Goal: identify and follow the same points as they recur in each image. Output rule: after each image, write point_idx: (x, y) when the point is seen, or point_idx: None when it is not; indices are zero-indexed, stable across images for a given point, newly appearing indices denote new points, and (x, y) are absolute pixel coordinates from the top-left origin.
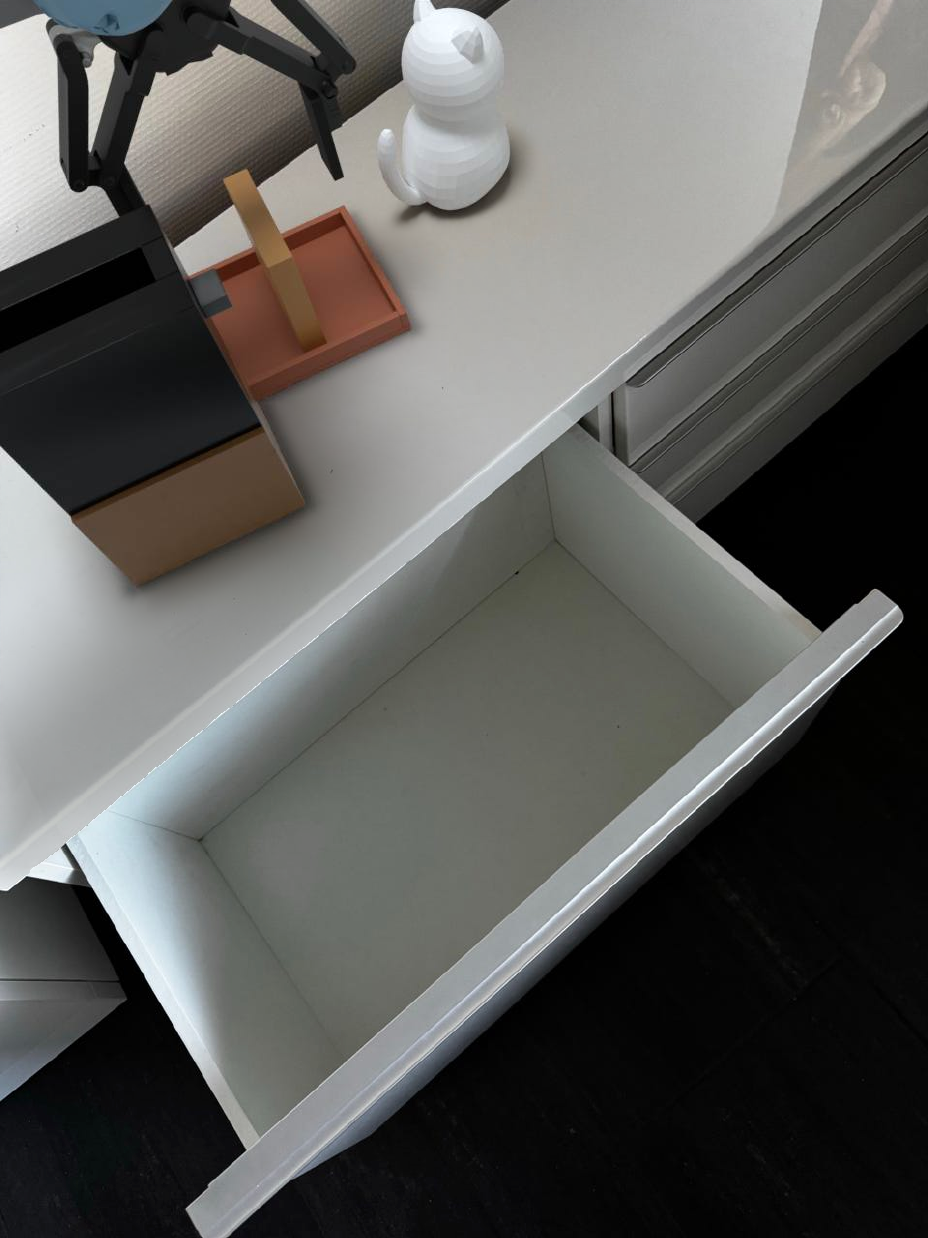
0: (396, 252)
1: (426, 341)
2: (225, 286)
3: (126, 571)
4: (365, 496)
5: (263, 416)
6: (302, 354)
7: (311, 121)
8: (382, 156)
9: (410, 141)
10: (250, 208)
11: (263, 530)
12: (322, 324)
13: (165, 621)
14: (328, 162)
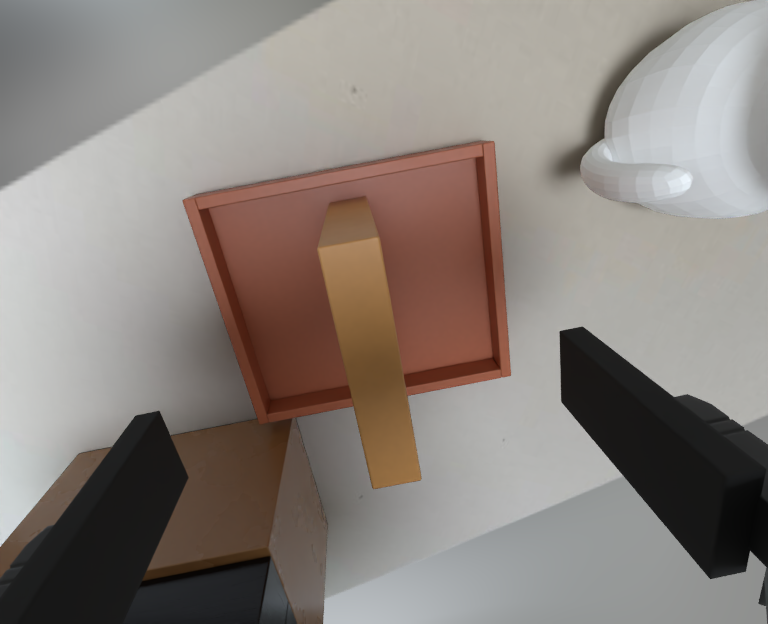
0: (526, 229)
1: (510, 379)
2: (262, 209)
3: None
4: (388, 526)
5: (299, 467)
6: None
7: (628, 418)
8: (632, 199)
9: (682, 132)
10: (367, 354)
11: None
12: (395, 327)
13: None
14: (583, 421)
